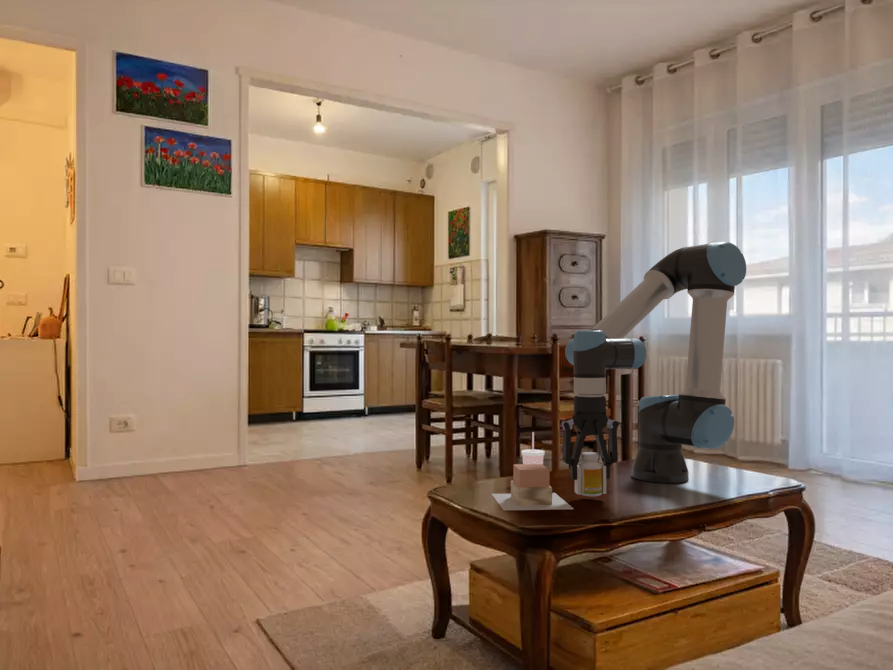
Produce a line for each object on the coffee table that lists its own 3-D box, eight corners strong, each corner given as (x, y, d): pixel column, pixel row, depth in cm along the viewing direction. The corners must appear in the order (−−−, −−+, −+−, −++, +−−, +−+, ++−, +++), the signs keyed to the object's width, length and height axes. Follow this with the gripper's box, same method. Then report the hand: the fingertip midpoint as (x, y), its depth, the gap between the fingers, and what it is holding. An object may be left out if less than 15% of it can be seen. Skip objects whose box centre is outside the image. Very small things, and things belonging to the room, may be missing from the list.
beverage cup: (546, 487, 174) (546, 433, 174) (522, 487, 174) (523, 433, 174) (542, 482, 180) (543, 430, 180) (519, 482, 180) (520, 430, 180)
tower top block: (541, 480, 161) (542, 464, 161) (549, 487, 154) (549, 469, 154) (513, 481, 161) (513, 464, 161) (519, 487, 154) (519, 470, 154)
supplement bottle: (606, 494, 158) (606, 453, 158) (590, 498, 155) (590, 456, 155) (590, 490, 163) (590, 450, 163) (574, 493, 160) (573, 452, 160)
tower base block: (543, 496, 162) (543, 480, 162) (552, 504, 154) (552, 487, 154) (510, 497, 161) (510, 480, 161) (517, 505, 153) (517, 487, 153)
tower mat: (555, 494, 166) (555, 492, 166) (574, 510, 150) (574, 509, 150) (491, 495, 164) (491, 493, 164) (503, 512, 149) (503, 510, 149)
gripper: (621, 393, 164) (622, 488, 164) (547, 394, 162) (548, 490, 162) (633, 395, 156) (633, 495, 156) (556, 397, 154) (556, 498, 154)
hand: (590, 492), depth 159 cm, fingers closed on supplement bottle, 5 cm apart
